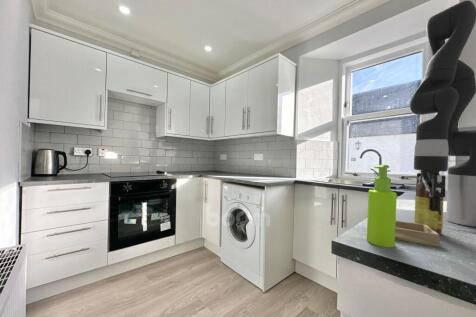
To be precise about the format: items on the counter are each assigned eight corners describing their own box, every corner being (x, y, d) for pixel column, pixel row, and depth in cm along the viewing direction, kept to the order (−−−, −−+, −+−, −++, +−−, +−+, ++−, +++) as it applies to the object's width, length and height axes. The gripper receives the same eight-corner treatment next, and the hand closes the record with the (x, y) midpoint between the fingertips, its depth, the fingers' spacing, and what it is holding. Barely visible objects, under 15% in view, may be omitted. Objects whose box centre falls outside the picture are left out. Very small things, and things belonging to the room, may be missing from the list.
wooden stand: (382, 228, 63) (382, 218, 63) (424, 234, 59) (425, 224, 59) (388, 238, 55) (389, 227, 55) (438, 246, 50) (439, 234, 50)
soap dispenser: (361, 242, 51) (364, 164, 51) (370, 236, 56) (373, 164, 56) (389, 250, 47) (393, 165, 47) (397, 243, 51) (400, 165, 51)
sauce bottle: (444, 237, 57) (447, 167, 57) (415, 231, 61) (417, 166, 61) (439, 231, 62) (442, 167, 62) (413, 226, 66) (415, 166, 66)
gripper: (460, 154, 54) (457, 215, 54) (436, 156, 66) (434, 205, 66) (423, 154, 57) (420, 211, 57) (407, 155, 70) (405, 202, 70)
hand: (428, 208), depth 62 cm, fingers open, 8 cm apart
